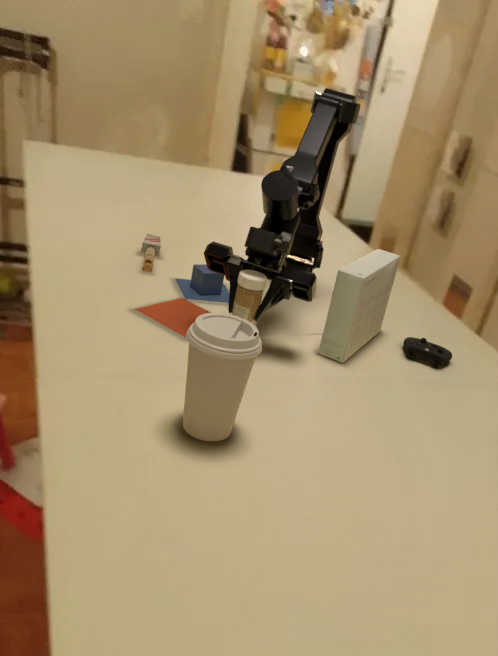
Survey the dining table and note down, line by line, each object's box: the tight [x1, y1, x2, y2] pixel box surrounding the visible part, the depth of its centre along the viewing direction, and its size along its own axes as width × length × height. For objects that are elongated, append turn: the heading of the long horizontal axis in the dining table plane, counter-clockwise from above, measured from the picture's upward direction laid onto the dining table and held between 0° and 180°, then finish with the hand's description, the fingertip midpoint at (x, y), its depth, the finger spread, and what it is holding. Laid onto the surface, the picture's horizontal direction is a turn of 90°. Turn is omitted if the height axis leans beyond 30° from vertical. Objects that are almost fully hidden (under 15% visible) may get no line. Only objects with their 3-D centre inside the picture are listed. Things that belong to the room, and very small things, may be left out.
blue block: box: [190, 263, 225, 295], centre depth 131 cm, size 4×4×4 cm
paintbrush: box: [140, 233, 162, 273], centre depth 142 cm, size 4×3×20 cm
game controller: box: [403, 336, 453, 368], centre depth 129 cm, size 10×5×6 cm
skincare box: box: [318, 248, 402, 364], centre depth 124 cm, size 21×5×16 cm, turn 154°
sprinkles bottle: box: [230, 270, 268, 327], centre depth 110 cm, size 5×5×13 cm
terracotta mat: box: [134, 297, 211, 338], centre depth 119 cm, size 12×12×1 cm
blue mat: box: [175, 278, 230, 304], centre depth 132 cm, size 10×10×1 cm
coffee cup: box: [182, 312, 263, 442], centre depth 87 cm, size 10×10×15 cm
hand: (242, 316), depth 109 cm, fingers closed on sprinkles bottle, 4 cm apart
